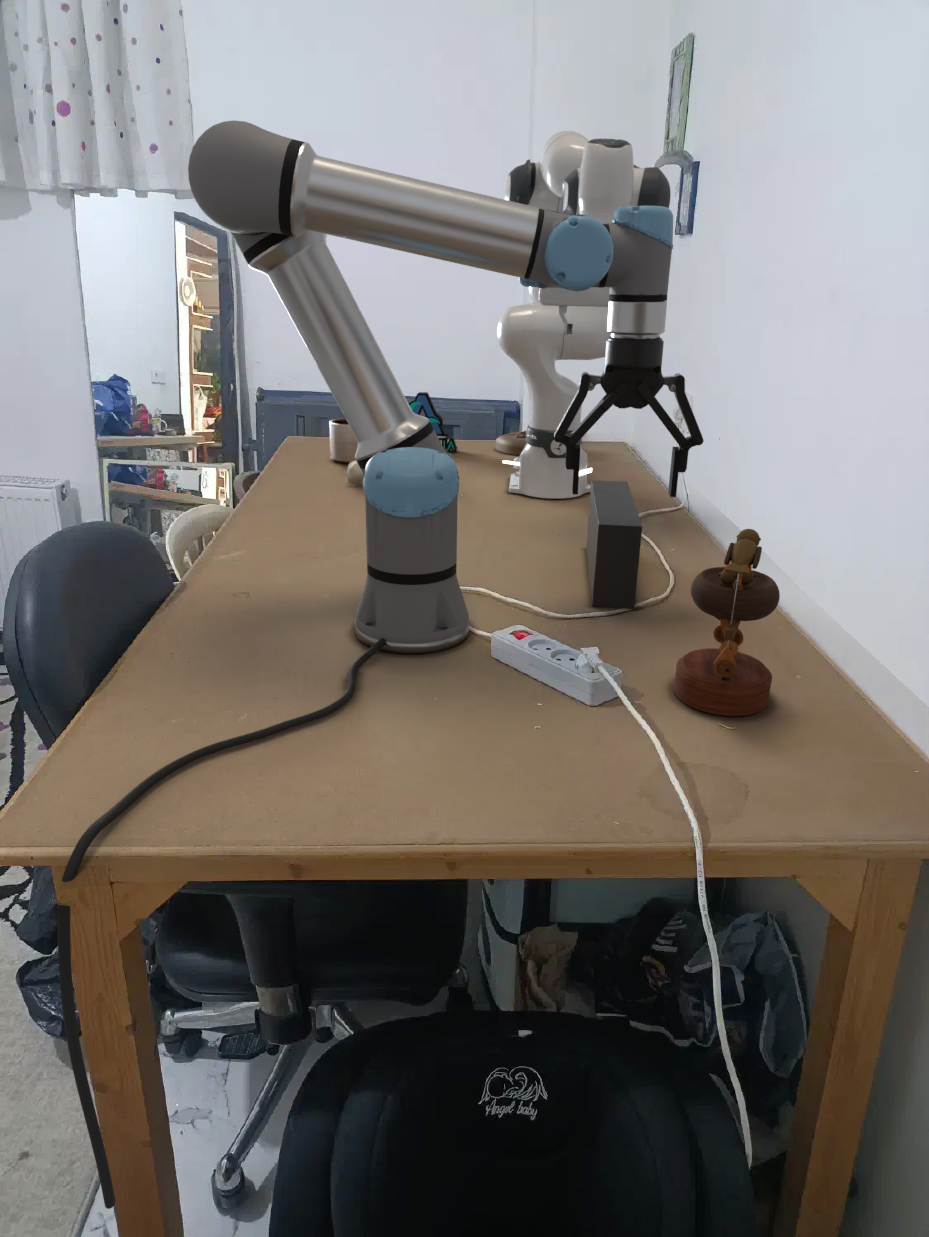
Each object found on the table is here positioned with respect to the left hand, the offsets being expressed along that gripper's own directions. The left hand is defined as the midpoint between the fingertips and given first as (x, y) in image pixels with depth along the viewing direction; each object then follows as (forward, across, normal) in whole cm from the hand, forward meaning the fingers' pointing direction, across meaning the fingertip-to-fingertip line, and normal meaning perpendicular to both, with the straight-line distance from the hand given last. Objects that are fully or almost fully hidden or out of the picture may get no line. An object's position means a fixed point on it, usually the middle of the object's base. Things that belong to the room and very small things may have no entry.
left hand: (623, 493), depth 120 cm
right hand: (-19, +4, -37) cm, 41 cm away
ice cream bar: (+16, +14, -106) cm, 108 cm away
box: (+16, 0, -10) cm, 19 cm away
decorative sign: (+16, +45, -106) cm, 116 cm away
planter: (+15, +60, -90) cm, 110 cm away
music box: (+16, -10, +29) cm, 35 cm away
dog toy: (+15, +46, -67) cm, 82 cm away
